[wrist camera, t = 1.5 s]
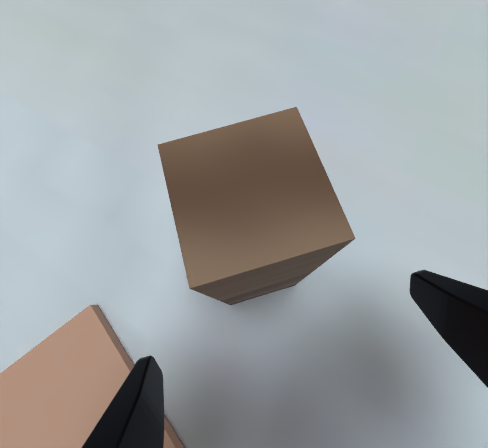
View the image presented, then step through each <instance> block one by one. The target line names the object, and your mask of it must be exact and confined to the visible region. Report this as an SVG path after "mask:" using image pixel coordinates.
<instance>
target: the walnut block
mask: <svg viewBox="0 0 488 448" xmlns="http://www.w3.org/2000/svg"><path fill="white" fill-rule="evenodd" d="M158 149H159V153H160V158H161V162H162V167H163V171H164V176H165V180H166V185H167V189H168V193H169V198H170V202H171V207H172V211H173V216H174V220H175V225H176V229H177V234H178V238H179V243H180V247H181V252H182V256H183V261H184V265H185V270H186V274H187V279H188V283H189V288H190V289H192V290H195V291H197V292H200V293H202V294H205V295H207V296H210V297H212V298H215V299H217V300H220V301H222V302H225V303H227V304H229V305H232V304H235V303H239V302H242V301H245V300H248V299H252V298H255V297H258V296H261V295H265V294H268V293H271V292H274V291H278V290H281V289H284V288H287V287H291V286H294V285H296V284H297V283H299V282H300V281H301V280H302V279H304V278H305V277H306V276H308V275H309V274H310V273H311V272H313V271H314V270H315V269H317V268H318V267H319V266H320V265H322V264H323V263H324V262H326V261H327V260H328V259H329V258H331V257H332V256H333V255H335V254H336V253H337V252H339V251H340V250H341V249H342V248H344V247H345V246H346V245H348V244H349V243H350V242H351V241H353V240H354V239H355V236H354V234H353V232H352V230H351V227H350V225H349V223H348V221H347V218H346V216H345V214H344V212H343V210H342V207H341V205H340V203H339V201H338V198H337V196H336V194H335V192H334V189H333V187H332V185H331V183H330V180H329V178H328V176H327V174H326V171H325V169H324V167H323V165H322V163H321V160H320V158H319V156H318V154H317V151H316V149H315V147H314V145H313V142H312V140H311V138H310V136H309V133H308V131H307V129H306V127H305V124H304V122H303V120H302V118H301V116H300V113H299V111H298V109H297V107H294V108H291V109H287V110H283V111H280V112H276V113H272V114H269V115H265V116H261V117H258V118H254V119H250V120H247V121H243V122H239V123H236V124H232V125H228V126H225V127H221V128H217V129H214V130H210V131H206V132H203V133H199V134H195V135H192V136H188V137H184V138H181V139H177V140H173V141H170V142H166V143H162V144H159V145H158Z"/></svg>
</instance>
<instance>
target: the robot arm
mask: <svg viewBox="0 0 488 448" xmlns="http://www.w3.org/2000/svg"><path fill="white" fill-rule="evenodd" d="M410 294H411V297H412V298H413V300H414V301H415V302H416V304H417V305H418V306H419V308H420V309H421V310H422V312H423V313H424V314H425V316H426V317H427V318H428V320H429V321H430V322H431V324H432V325H433V326H434V328H435V329H436V330H437V332H438V333H439V334H440V335H441V337H442V338H443V339H444V340H445V341H446V342H447V343H448V345H449V346H450V347H451V348H452V349H453V350H454V351H455V352H456V353H457V354H458V356H459V357H460V358H461V359H462V360H463V361H464V362H465V363H466V364H467V365H468V367H469V368H470V369H471V370H472V371H473V372H474V373H475V374H476V375H477V376H478V377H479V379H480V380H481V381H482V382H483V383H484V384H485V385H486V386H487V387H488V290H485V289H482V288H479V287H476V286H473V285H469V284H466V283H463V282H460V281H457V280H454V279H451V278H448V277H445V276H442V275H439V274H436V273H432V272H429V271H426V270H421V271H418V272H414V273H412V274H411V278H410ZM163 445H164V394H163V374H162V371H161V369H160V367H159V366H158V364H157V362H156V361H155V359H154V357H153V356H147V357H143V358H140V359H139V360H138V361H137V362H136V364H135V365H134V367H133V368H132V370H131V372H130V373H129V375H128V376H127V378H126V379H125V381H124V382H123V384H122V386H121V387H120V389H119V390H118V392H117V393H116V395H115V396H114V398H113V399H112V401H111V403H110V404H109V406H108V407H107V409H106V410H105V412H104V413H103V415H102V417H101V418H100V420H99V421H98V423H97V424H96V426H95V427H94V429H93V431H92V432H91V434H90V435H89V437H88V438H87V440H86V441H85V443H84V444H83V446H82V448H163Z"/></svg>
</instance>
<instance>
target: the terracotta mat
mask: <svg viewBox="0 0 488 448" xmlns="http://www.w3.org/2000/svg"><path fill="white" fill-rule="evenodd" d="M133 367H134V364H133V362H132V361H131V359H130V357H129V356H128V354H127V352H126V351H125V349H124V347H123V346H122V344H121V342H120V341H119V339H118V337H117V336H116V334H115V333H114V331H113V329H112V328H111V326H110V324H109V323H108V321H107V319H106V318H105V316H104V314H103V313H102V311H101V309H100V308H99V306H98V305H89V306H88V307H87V308H86V309H84V310H83V311H82V312H80V313H79V314H78V315H76V316H75V317H74V318H72V319H71V320H70V321H69V322H67V323H66V324H65V325H63V326H62V327H61V328H59V329H58V330H57V331H55V332H54V333H53V334H52V335H50V336H49V337H48V338H46V339H45V340H44V341H42V342H41V343H40V344H38V345H37V346H36V347H35V348H33V349H32V350H31V351H29V352H28V353H27V354H25V355H24V356H23V357H21V358H20V359H19V360H17V361H16V362H15V363H14V364H12V365H11V366H10V367H8V368H7V369H6V370H4V371H3V372H2V373H0V448H82V446H83V444H84V443H85V441H86V440H87V438H88V437H89V435H90V434H91V432H92V431H93V429H94V427H95V426H96V424H97V423H98V421H99V420H100V418H101V417H102V415H103V413H104V412H105V410H106V409H107V407H108V406H109V404H110V403H111V401H112V399H113V398H114V396H115V395H116V393H117V392H118V390H119V389H120V387H121V386H122V384H123V382H124V381H125V379H126V378H127V376H128V375H129V373H130V372H131V370H132V368H133ZM163 448H184V446H183V445H182V443H181V441H180V440H179V438H178V436H177V435H176V433H175V432H174V430H173V428H172V427H171V425H170V423H169V422H168V420H167V418H166V417H165V415H164V445H163Z"/></svg>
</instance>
